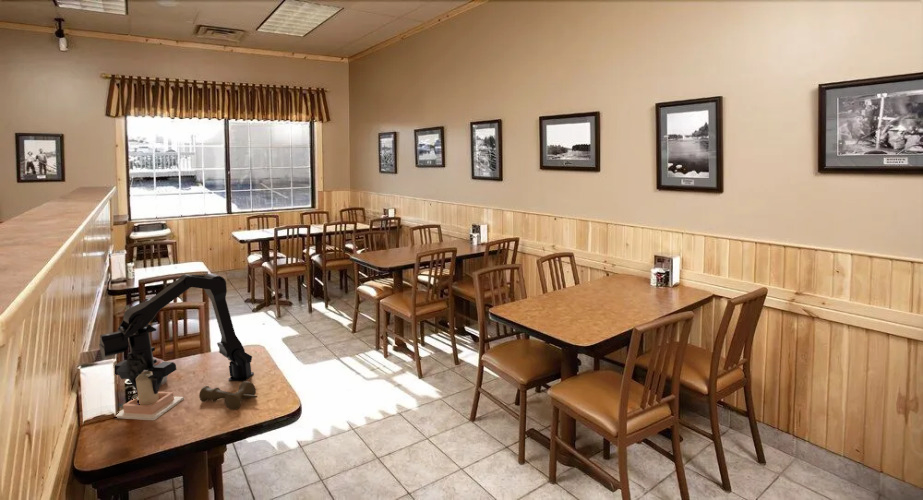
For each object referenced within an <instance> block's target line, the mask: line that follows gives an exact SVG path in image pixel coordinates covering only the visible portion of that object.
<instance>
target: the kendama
mask: <svg viewBox="0 0 923 500" xmlns="http://www.w3.org/2000/svg"><path fill="white" fill-rule="evenodd" d="M256 393H257V389H256V386H255V385H254V384H253V382H251V381H248V380H245V381H241V382H240V384H239V386H238V391H236V392H234V393H233V392H230V391H226V390H225V391H224V390H221V389H220V387H214V388H211V387H210V386H209V385H205V386H203V387H202V388H201V389H200V391H199V395H198V397H199V400H200V401H201V402H202V403H205V402H207V401H212V402H217V401H218V400H220V399H223V401H224V405H225V407H226V408H227V409H228V410H231V411H235V410H236V411H237V410H238V409H240V406H241V403H242V401H243V400H245V399H253V398H255V399H256V398H258V395H256Z"/></svg>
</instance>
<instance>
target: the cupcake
mask: <svg viewBox="0 0 923 500" xmlns="http://www.w3.org/2000/svg"><path fill="white" fill-rule="evenodd" d="M153 359H156V360H157V362H156V363H154V365H159V364H161V363H162V362H165V361H164V360H163V359H161V358H157V357H154V356H153ZM144 372H145V371H143V372H142V373H144ZM150 372H152V371H150ZM168 376H169V375H167V376H166V377H164V378H163V380H162V382H161V385H160V386H162V385H165V384H166V383H167V382H168V381H167V380H168Z"/></svg>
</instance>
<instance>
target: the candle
mask: <svg viewBox="0 0 923 500" xmlns="http://www.w3.org/2000/svg"><path fill="white" fill-rule="evenodd" d="M151 375H152V372H150V371H145V372H144V373H141V374H140V375H138V377H137V378H136V386H137V390H136V392H137V396H138V398H139V404H140V405H151V404H153V403H155V402H156V401H158V400H159V396H158V393H157V394H154V391H153V386H152V381H151V380H150V379H149V378H148V377H150V376H151Z"/></svg>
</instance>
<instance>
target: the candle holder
mask: <svg viewBox="0 0 923 500" xmlns="http://www.w3.org/2000/svg"><path fill="white" fill-rule="evenodd" d="M158 396H159V400H158V401H156V402H155V403H153V404H151V405H137V404H138V403H137V398H136V399H134V398H132V399H133V400H132V399H130V400H129V401H128V402H126V403H124V404H122V409H121V410H119V411H118V412H119V413H118V412H117V413H118V414H117V415H116V417H117V418H116V419H128V420H141V421H142V420H143V421H155V420H157V419H159V417H161V416H163V415H164V414H165V413H166V412H168V411H169V410H171V409H173V408H174V407H175V406H176V405H178V404H179V403H180V402H182V401H183V400H184V399H185V398H184V396H174V392H172V391H158Z"/></svg>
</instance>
